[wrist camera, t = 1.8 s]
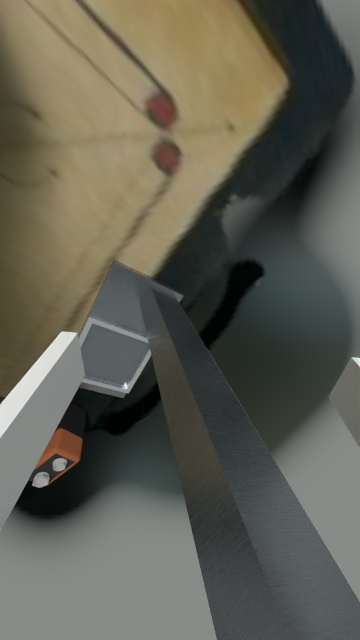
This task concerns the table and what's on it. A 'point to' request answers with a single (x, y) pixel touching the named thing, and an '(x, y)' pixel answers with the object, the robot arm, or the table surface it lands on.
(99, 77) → the table surface
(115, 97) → the table surface
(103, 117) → the table surface
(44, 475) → the battery
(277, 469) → the arbor press
